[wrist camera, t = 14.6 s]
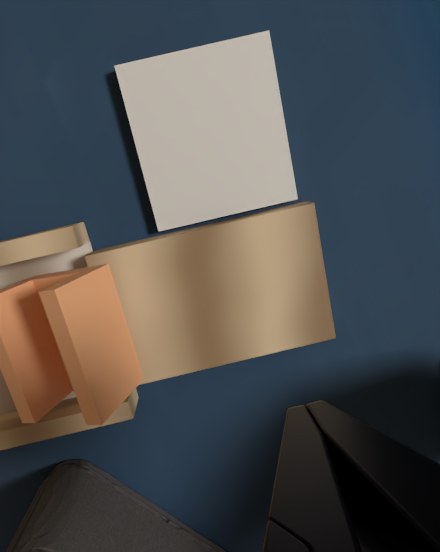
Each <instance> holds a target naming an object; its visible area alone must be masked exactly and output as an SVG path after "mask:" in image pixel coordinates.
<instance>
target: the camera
mask: <svg viewBox="0 0 440 552" xmlns="http://www.w3.org/2000/svg"><path fill="white" fill-rule="evenodd" d="M6 552H227V551H225V550H224V549H222V548H221V547H219V546H217V545H216V544H214V543H213V542H211V541H210V540H208V539H207V538H205V537H204V536H202V535H201V534H199V533H197V532H196V531H194V530H193V529H191V528H190V527H189V526H187V525H186V524H184V523H183V522H181V521H179V520H178V519H176V518H175V517H173V516H172V515H170V514H168V513H167V512H166V511H164V510H163V509H161V508H160V507H158V506H157V505H155V504H153V503H152V502H150V501H149V500H147V499H145V498H144V497H142V496H141V495H139V494H138V493H136V492H135V491H133V490H131V489H130V488H128V487H127V486H126V485H125V484H123V483H122V482H120V481H118V480H116V479H115V478H113V477H112V476H110V475H109V474H108V473H106V472H104V471H103V470H101V469H99V468H97V467H96V466H94V465H93V464H91V463H90V462H88V461H86V460H81V459H70V460H67V461H64V462H62V463H60V464H58V465H57V466H56V467H55V468H54V469H53V470H52V472H51V473H50V474H49V475H48V476H47V477H46V478H45V479H44V480H43V482H42V483H41V485H40V487H39V488H38V490H37V493H36V495H35V497H34V499H33V501H32V503H31V504H30V506H29V508H28V510H27V512H26V514H25V516H24V518H23V520H22V522H21V523H20V525H19V527H18V529H17V531H16V533H15V535H14V537H13V539H12V541H11V543H10V545H9V546H8V548H7V550H6Z"/></svg>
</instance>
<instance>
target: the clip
mask: <svg viewBox="0 0 440 552" xmlns="http://www.w3.org/2000/svg"><path fill="white" fill-rule="evenodd" d="M0 369H1V372H2V374H3V377H4V379H5V382H6V384H7V387H8V389H9V391H10V394H11V396H12V399H13V401H14V404H15V406H16V409H17V411H18V413H19V416H20V418H21V421H22V423H36V422H37V421H39V420H40V419H41V418H42V417H43V416H44V415H46V414H47V413H48V412H49V411H50V410H51V409H52V408H54V407H55V406H56V405H57V404H58V403H59V402H61V401H62V400H63V399H64V398H65V397H66V396H67V395H69V394H70V393H71V392H72V391H74V392H75V395H76V397H77V400H78V403H79V406H80V408H81V411H82V414H83V417H84V419H85V422H86V425H103V423H104V422H105V421H106V420H107V419H108V418H109V417H110V416H111V415H112V414H113V412H114V411H115V410H116V409H117V408H118V407H119V406H120V405H121V404H122V403H123V401H124V400H125V399H126V398H127V397H128V396H129V395H130V394H131V393H132V392H133V390H134V389H135V388H136V387H137V386H138V385H139V384H140V383H141V382H142V381H143V379H144V378H143V374H142V371H141V368H140V365H139V361H138V358H137V355H136V352H135V348H134V345H133V342H132V339H131V335H130V332H129V329H128V326H127V322H126V319H125V316H124V313H123V309H122V306H121V303H120V300H119V296H118V293H117V290H116V287H115V283H114V280H113V277H112V274H111V270H110V267H109V264H103V265H97V266H91V267H85V268H79V269H73V270H66V271H60V272H54V273H48V274H42V275H36V276H33V277H31V278H28V279H26V280H23V281H21V282H18V283H16V284H13V285H11V286H8V287H6V288H4V289H1V290H0Z"/></svg>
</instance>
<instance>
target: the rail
mask: <svg viewBox="0 0 440 552" xmlns="http://www.w3.org/2000/svg"><path fill="white" fill-rule="evenodd" d="M103 264H109V267H110V270H111V274H112V277H113V280H114V283H115V287H116V290H117V293H118V296H119V300H120V303H121V306H122V309H123V313H124V316H125V319H126V322H127V326H128V329H129V332H130V335H131V339H132V342H133V345H134V348H135V352H136V355H137V358H138V361H139V365H140V368H141V371H142V374H143V378H144V379H143V381H142V382H141V383H140V384H139V385H141V384H145V383H149V382H153V381H157V380H162V379H166V378H170V377H174V376H178V375H183V374H187V373H191V372H195V371H199V370H204V369H208V368H212V367H216V366H220V365H225V364H229V363H233V362H237V361H242V360H246V359H250V358H254V357H258V356H263V355H267V354H271V353H275V352H279V351H284V350H288V349H292V348H296V347H300V346H305V345H309V344H313V343H317V342H321V341H326V340H330V339H334V338H336V336H335V330H334V324H333V317H332V311H331V305H330V299H329V293H328V286H327V280H326V274H325V268H324V261H323V255H322V249H321V243H320V236H319V230H318V224H317V218H316V211H315V205H314V203H312V202H306V201H305V202H300V203H296V204H292V205H287V206H283V207H279V208H275V209H270V210H266V211H262V212H257V213H253V214H249V215H245V216H240V217H236V218H232V219H227V220H223V221H219V222H215V223H210V224H206V225H202V226H197V227H193V228H189V229H185V230H180V231H176V232H172V233H167V234H163V235H159V236H155V237H150V238H146V239H142V240H137V241H133V242H129V243H125V244H120V245H116V246H112V247H107V248H103V249H99V250H95V251H93V250H92V247H91V243H90V240H89V237H88V234H87V231H86V227H85V224H84V222H80V223H76V224H72V225H67V226H63V227H59V228H54V229H50V230H46V231H42V232H37V233H33V234H29V235H24V236H20V237H16V238H11V239H7V240H3V241H0V290H1V289H4V288H6V287H8V286H11V285H13V284H16V283H18V282H21V281H23V280H26V279H28V278H31V277H33V276H36V275H42V274H48V273H54V272H60V271H66V270H73V269H79V268H85V267H91V266H97V265H103ZM138 398H139V397H138V394H137V391H136V388H135V389H134V390H133V392H132V393H131V394H130V395H129V396H128V397H127V398H126V399H125V400H124V401H123V403H122V404H121V405H120V406H119V407H118V408H117V409H116V410H115V411H114V412H113V414H112V415H111V416H110V417H109V418H108V419H107V420H106V421H105V422H104V423H103V425H86V422H85V419H84V417H83V414H82V411H81V408H80V406H79V403H78V400H77V397H76V395H75V392H74V391H72V392H71V393H70V394H69V395H67V396H66V397H65V398H64V399H63V400H62V401H61V402H59V403H58V404H57V405H56V406H55V407H54V408H52V409H51V410H50V411H49V412H48V413H47V414H46V415H44V416H43V417H42V418H41V419H40V420H39V421H37V422H36V423H22V421H21V418H20V416H19V413H18V411H17V409H16V406H15V404H14V401H13V399H12V396H11V394H10V391H9V389H8V387H7V384H6V382H5V379H4V377H3V374H2V372H1V369H0V450H4V449H9V448H13V447H17V446H21V445H25V444H30V443H34V442H38V441H42V440H46V439H50V438H55V437H59V436H63V435H67V434H71V433H76V432H80V431H84V430H88V429H92V428H97V427H101V426H105V425H109V424H113V423H117V422H122V421H126V420H130V419H133V417H134V414H135V410H136V406H137V402H138Z"/></svg>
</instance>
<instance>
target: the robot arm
mask: <svg viewBox="0 0 440 552" xmlns="http://www.w3.org/2000/svg"><path fill="white" fill-rule="evenodd" d="M261 552H440V464H439V463H437V462H436V461H434V460H432V459H430V458H428V457H426V456H425V455H423V454H421V453H419V452H417V451H415V450H414V449H412V448H410V447H408V446H406V445H404V444H403V443H401V442H399V441H397V440H395V439H393V438H392V437H390V436H388V435H386V434H384V433H383V432H381V431H379V430H377V429H375V428H373V427H372V426H370V425H368V424H366V423H364V422H362V421H361V420H359V419H357V418H355V417H353V416H351V415H350V414H348V413H346V412H344V411H342V410H340V409H339V408H337V407H335V406H333V405H331V404H329V403H328V402H326V401H323V400H320V401H316V402H312V403H308V404H307V405H306V406H304V405H300V406H295V407H291V408H288V409H287V412H286V418H285V423H284V429H283V435H282V441H281V446H280V452H279V458H278V464H277V469H276V475H275V481H274V487H273V492H272V498H271V504H270V510H269V515H268V522H267V526H266V531H265V537H264V542H263V547H262V551H261Z"/></svg>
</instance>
